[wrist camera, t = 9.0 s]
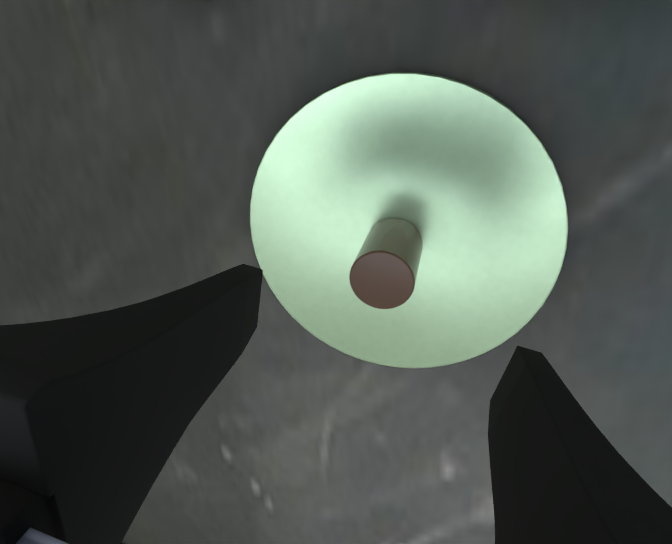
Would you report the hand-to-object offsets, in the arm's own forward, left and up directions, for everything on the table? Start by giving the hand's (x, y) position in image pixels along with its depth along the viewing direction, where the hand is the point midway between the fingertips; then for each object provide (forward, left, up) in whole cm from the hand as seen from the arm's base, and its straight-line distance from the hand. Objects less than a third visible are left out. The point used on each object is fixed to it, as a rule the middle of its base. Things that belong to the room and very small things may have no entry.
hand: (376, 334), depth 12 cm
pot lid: (0, +1, -8) cm, 8 cm away
